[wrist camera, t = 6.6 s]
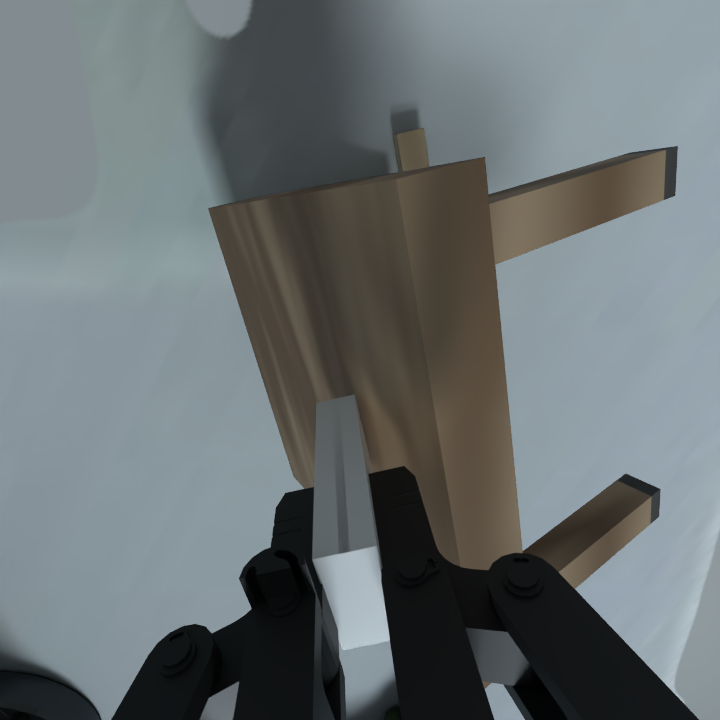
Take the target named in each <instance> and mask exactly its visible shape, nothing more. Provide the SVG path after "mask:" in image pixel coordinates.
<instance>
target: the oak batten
mask: <svg viewBox="0 0 720 720" xmlns="http://www.w3.org/2000/svg"><path fill="white" fill-rule="evenodd" d="M393 137H394V143H395V150H396V156H397V162H398V168H399V172H403V171H408V170H414V169H420V168H426V167H429V161H428V154H427V147H426V139H425V132H424V128H421V129H417V130H412V131H408V132H403V133H399V134H396V135H394V136H393Z"/></svg>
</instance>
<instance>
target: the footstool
mask: <svg viewBox="0 0 720 720" xmlns="http://www.w3.org/2000/svg"><path fill="white" fill-rule="evenodd" d="M677 149H678V146H675V147H668V148H661V149H654V150H646V151H639V152H632V153H628V154H624V155H621V156H618V157H614V158H611V159H607V160H604V161H601V162H597V163H594V164H591V165H587V166H584V167H580V168H577V169H574V170H570V171H567V172H564V173H560V174H557V175H553V176H550V177H547V178H543V179H540V180H537V181H533V182H530V183H526V184H523V185H520V186H516V187H513V188H510V189H506V190H503V191H499V192H496V193H493V194H489V195H488V186H487V175H486V165H485V157H483V158H477V159H471V160H465V161H460V162H454V163H448V164H443V165H437V166H431V167H426V168H420V169H414V170H408V171H403V172H397V173H391V174H386V175H380V176H374V177H369V178H363V179H357V180H351V181H346V182H340V183H334V184H329V185H323V186H317V187H311V188H306V189H300V190H294V191H289V192H283V193H277V194H272V195H266V196H260V197H254V198H250V199H246V200H242V201H237V202H233V203H229V204H225V205H220V206H216V207H212V208H208V209H209V213H210V216H211V219H212V222H213V225H214V228H215V231H216V235H217V238H218V241H219V244H220V247H221V250H222V253H223V257H224V260H225V263H226V266H227V269H228V272H229V275H230V279H231V282H232V285H233V288H234V291H235V294H236V297H237V300H238V304H239V307H240V310H241V313H242V316H243V319H244V322H245V326H246V329H247V332H248V335H249V338H250V341H251V344H252V348H253V351H254V354H255V357H256V360H257V363H258V366H259V370H260V373H261V376H262V379H263V382H264V385H265V388H266V392H267V395H268V398H269V401H270V404H271V407H272V410H273V413H274V417H275V420H276V423H277V426H278V429H279V432H280V435H281V439H282V442H283V445H284V448H285V451H286V454H287V457H288V461H289V464H290V467H291V470H292V473H293V476H294V477H295V478H296V480H297V481H298V482H299V483H300V484H301V485H302V486H303V488H304V489H306V488H311V487H314V473H315V437H316V403H318V402H322V401H327V400H331V399H336V398H341V397H345V396H350V395H354V394H355V398H356V402H357V406H358V410H359V414H360V419H361V423H362V427H363V431H364V435H365V439H366V443H367V447H368V452H369V456H370V460H371V465H372V471H373V473H374V472H379V471H383V470H388V469H392V468H397V467H401V466H405V467H406V468H407V469H408V470H409V471H410V472H411V473H412V474H414V475H415V477H416V480H417V484H418V487H419V491H420V494H421V497H422V500H423V504H424V507H425V510H426V514H427V517H428V520H429V523H430V527H431V530H432V533H433V537H434V540H435V543H436V546H437V548H438V550H439V552H440V553H441V555H442V556H443V557H444V558H445V559H446V560H448V561H449V562H451V563H452V564H455V565H457V566H460V567H463V568H469V569H479V570H489V568H490V567H491V565H492V563H493V562H495V561H496V560H497V559H499V558H500V557H502V556H504V555H508V554H512V553H529V554H532V555H534V556H537V557H540V558H542V559H544V560H545V561H546V562H548V563H549V564H550V565H552V566H553V567H554V568H555V569H556V570H557V571H558V572H559V573H560V574H561V575H562V576H563V577H564V578H565V579H566V581H567V582H568V583H569V584H570V585H571V586H572V587H573V588H574V589H575V588H576V587H578V586H579V585H580V584H581V583H582V582H583V581H585V580H586V579H587V578H588V577H589V576H590V575H592V574H593V573H594V572H595V571H596V570H597V569H598V568H600V567H601V566H602V565H603V564H604V563H605V562H607V561H608V560H609V559H610V558H611V557H612V556H614V555H615V554H616V553H617V552H618V551H619V550H621V549H622V548H623V547H624V546H625V545H626V544H628V543H629V542H630V541H631V540H632V539H633V538H635V537H636V536H637V535H638V534H639V533H640V532H642V531H643V530H644V529H645V528H646V527H647V526H649V525H650V524H651V523H652V522H653V521H654V520H656V519H657V518H658V517H659V506H660V489H659V488H657V487H654V486H652V485H650V484H648V483H646V482H643V481H641V480H639V479H637V478H634V477H632V476H630V475H628V474H625V475H623V476H622V477H621V478H619V479H618V480H617V481H615V482H614V483H613V484H611V485H610V486H609V487H607V488H606V489H605V490H603V491H602V492H601V493H599V494H598V495H597V496H596V497H594V498H593V499H592V500H590V501H589V502H588V503H586V504H585V505H584V506H582V507H581V508H580V509H578V510H577V511H576V512H574V513H573V514H572V515H570V516H569V517H568V518H566V519H565V520H564V521H562V522H561V523H560V524H558V525H557V526H556V527H554V528H553V529H552V530H550V531H549V532H548V533H547V534H545V535H544V536H543V537H541V538H540V539H539V540H537V541H536V542H535V543H533V544H532V545H531V546H529V547H528V548H527V549H525V550H524V551H522V540H521V530H520V520H519V509H518V499H517V488H516V478H515V467H514V457H513V447H512V436H511V426H510V415H509V405H508V394H507V384H506V374H505V363H504V353H503V342H502V332H501V321H500V311H499V301H498V290H497V280H496V269H495V264H498V263H501V262H503V261H506V260H509V259H511V258H514V257H516V256H519V255H522V254H524V253H527V252H529V251H532V250H535V249H537V248H540V247H542V246H545V245H548V244H550V243H553V242H556V241H558V240H561V239H563V238H566V237H569V236H571V235H574V234H576V233H579V232H582V231H584V230H587V229H589V228H592V227H595V226H597V225H600V224H603V223H605V222H608V221H610V220H613V219H616V218H618V217H621V216H623V215H626V214H629V213H631V212H634V211H636V210H639V209H642V208H644V207H647V206H649V205H652V204H655V203H657V202H660V201H663V200H665V199H668V198H670V197H673V196H675V188H676V169H677ZM482 683H483V686H484V689H485V688H486V687H487V686H488V685H489V684H491V683H492V682H485V681H482Z"/></svg>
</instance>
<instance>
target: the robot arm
mask: <svg viewBox="0 0 720 720" xmlns="http://www.w3.org/2000/svg"><path fill="white" fill-rule="evenodd" d="M272 535H273V538H272V542H271V548H268V549H265V550H263V551H262V552H260V553H259V554H257V555H256V556H254V557H253V558H252V559H251V560H250V561H249V562H248V563H247V564H246V566H245V567H244V568H243V570H242V573H241V575H240V577H239V580H240V582H241V584H242V587H243V589H244V591H245V594H246V596H247V598H248V601H249V603H250V605H251V608H252V609H251V610H250V611H249V612H248V613H247V614H246V615H245V616H243V617H242V618H240V619H238V620H237V621H235V622H234V623H232V624H230V625H228V626H226V627H224V628H222V629H220V630H218V631H216V632H214V633H211V632H210V631H209V630H208V629H207V628H206V627H205V626H201V625H197V624H193V625H187V626H183V627H181V628H179V629H177V630H175V631H173V632H171V633H169V634H168V635H167V636H166V637H164V638H163V639H162V640H161V641H160V642H158V643H157V645H156V646H155V647H154V649H153V650H152V651H151V653H150V654H149V655H148V657H147V659H146V660H145V662H144V664H143V666H142V667H141V669H140V671H139V673H138V674H137V676H136V678H135V680H134V681H133V683H132V685H131V686H130V688H129V690H128V692H127V693H126V695H125V697H124V699H123V700H122V702H121V704H120V706H119V707H118V709H117V711H116V712H115V714H114V716H113V718H112V719H111V720H346V703H345V677H344V673H343V669H342V665H341V662H340V659H339V641H340V644H341V647H342V650H348V649H352V648H357V647H362V646H366V645H367V646H368V645H373V644H377V643H382V642H387V641H390V644H391V650H392V657H393V664H394V671H395V677H396V684H397V691H398V698H399V705H400V711H401V718H402V720H494V718H493V714H492V711H491V708H490V705H489V702H488V698H487V695H486V692H485V689H484V686H483V683H482V681H485V682H492V683H499V684H504V686H505V688H506V689H507V691H508V693H509V694H510V696H511V697H512V699H513V701H514V702H515V704H516V706H517V707H518V709H519V710H520V712H521V714H522V715H523V717H524V718H525V720H699V719H698V718H697V717H696V716H695V715H694V714H693V713H692V712H691V711H690V710H689V709H688V708H687V707H686V706H685V704H684V703H683V702H682V701H681V700H680V699H679V698H678V697H677V696H676V695H675V694H674V693H673V692H672V691H671V690H670V689H669V688H668V687H667V686H666V685H665V683H664V682H663V681H662V680H661V679H660V678H659V677H658V676H657V675H656V674H655V673H654V672H653V671H652V670H651V669H650V668H649V667H648V666H647V665H646V664H645V662H644V661H643V660H642V659H641V658H640V657H639V656H638V655H637V654H636V653H635V652H634V651H633V650H632V649H631V648H630V647H629V646H628V645H627V644H626V643H625V641H624V640H623V639H622V638H621V637H620V636H619V635H618V634H617V633H616V632H615V631H614V630H613V629H612V628H611V627H610V626H609V625H608V624H607V623H606V622H605V620H604V619H603V618H602V617H601V616H600V615H599V614H598V613H597V612H596V611H595V610H594V609H593V608H592V607H591V606H590V605H589V604H588V603H587V602H586V601H585V599H584V598H583V597H582V596H581V595H580V594H579V593H578V592H577V591H576V590H575V589H574V588H573V587H572V586H571V585H570V584H569V583H568V582H567V581H566V579H565V578H564V577H563V576H562V575H561V574H560V573H559V572H558V571H557V570H556V569H555V568H554V567H553V566H552V565H550V564H549V563H548V562H546V561H545V560H544V559H542V558H540V557H537V556H534V555H532V554H529V553H512V554H508V555H504V556H502V557H500V558H499V559H497V560H496V561H495V562H493V563H492V565H491V567H490V568H489V570H479V569H469V568H463V567H460V566H457V565H455V564H452V563H451V562H449V561H448V560H446V559H445V558H444V557H443V556H442V555H441V553H440V552H439V550H438V548H437V546H436V543H435V540H434V537H433V533H432V530H431V527H430V523H429V520H428V517H427V514H426V510H425V507H424V504H423V500H422V497H421V494H420V491H419V487H418V484H417V480H416V477H415V475H414V474H412V473H411V472H410V471H409V470H408V469H407V468H406V467H405V466H401V467H397V468H392V469H388V470H383V471H379V472H374V473H373V471H372V465H371V460H370V456H369V452H368V447H367V443H366V439H365V435H364V431H363V427H362V423H361V419H360V414H359V410H358V406H357V402H356V398H355V394H354V395H350V396H345V397H341V398H336V399H331V400H327V401H322V402H318V403H316V437H315V473H314V487H311V488H306V489H302V490H297V491H293V492H288V493H285V494H284V496H283V498H282V499H281V501H280V502H279V504H278V506H277V507H276V512H275V520H274V527H273V534H272ZM338 638H339V640H338ZM0 720H100V718H99V716H98V715H97V713H96V711H95V710H94V709H93V707H92V706H91V705H90V704H89V703H88V702H87V701H86V700H85V699H83V698H82V697H81V696H80V695H78V694H77V693H75V692H74V691H72V690H70V689H69V688H67V687H65V686H63V685H60V684H58V683H56V682H53V681H50V680H48V679H44V678H41V677H37V676H33V675H28V674H21V673H13V672H0Z"/></svg>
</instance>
